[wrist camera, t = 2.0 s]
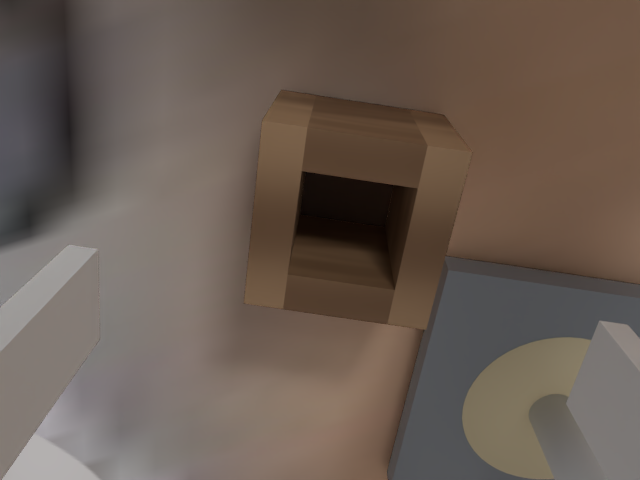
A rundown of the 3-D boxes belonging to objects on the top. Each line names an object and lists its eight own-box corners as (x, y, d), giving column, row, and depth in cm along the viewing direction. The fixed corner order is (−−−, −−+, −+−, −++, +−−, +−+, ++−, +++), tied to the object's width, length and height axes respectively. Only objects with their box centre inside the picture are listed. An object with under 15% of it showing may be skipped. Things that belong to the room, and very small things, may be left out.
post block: (443, 255, 27) (483, 365, 19) (730, 298, 27) (885, 423, 19) (386, 471, 32) (399, 623, 25) (624, 504, 33) (710, 665, 25)
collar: (281, 89, 24) (262, 120, 18) (443, 115, 24) (472, 152, 19) (264, 238, 27) (243, 303, 21) (409, 260, 27) (426, 329, 21)
